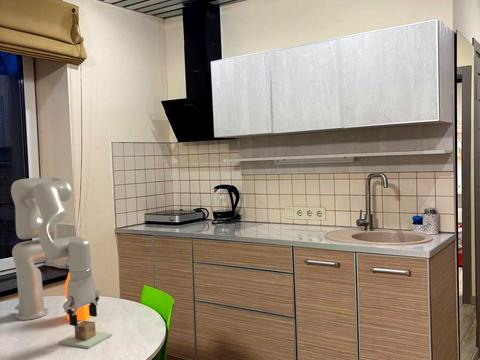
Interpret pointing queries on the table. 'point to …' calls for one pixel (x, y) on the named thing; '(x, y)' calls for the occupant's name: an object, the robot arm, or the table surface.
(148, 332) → the table surface
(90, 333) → the walnut cube
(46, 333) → the table surface
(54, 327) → the table surface
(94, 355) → the table surface
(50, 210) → the robot arm
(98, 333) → the sage board
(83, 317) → the orange juice
